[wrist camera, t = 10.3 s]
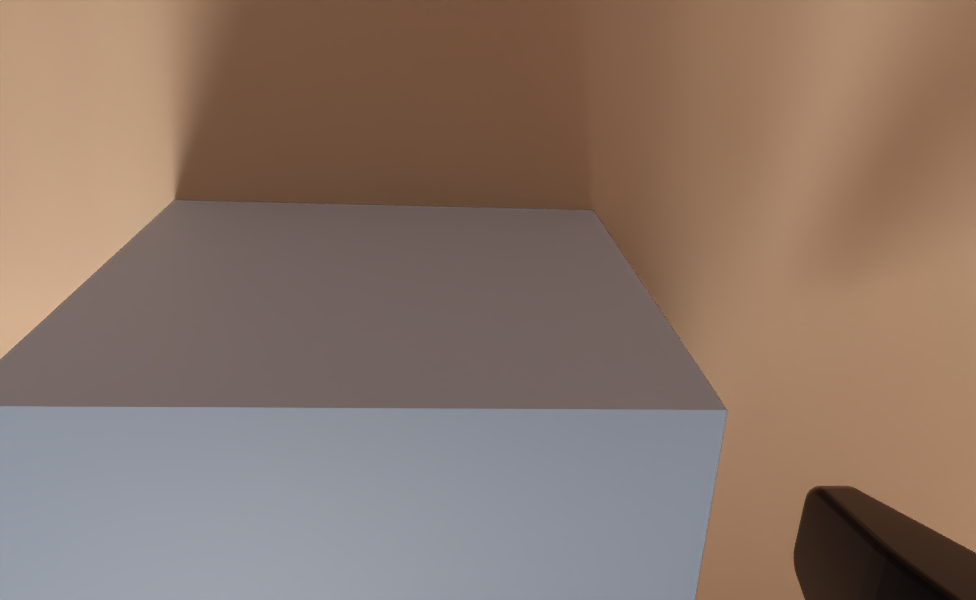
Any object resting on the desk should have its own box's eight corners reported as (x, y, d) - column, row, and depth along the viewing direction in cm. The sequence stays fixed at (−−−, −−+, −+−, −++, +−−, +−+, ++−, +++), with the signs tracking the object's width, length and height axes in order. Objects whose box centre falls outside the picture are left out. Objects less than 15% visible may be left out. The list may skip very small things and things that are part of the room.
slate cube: (561, 539, 12) (643, 898, 7) (211, 542, 12) (66, 922, 7) (591, 208, 10) (727, 410, 6) (176, 197, 10) (-51, 406, 5)
